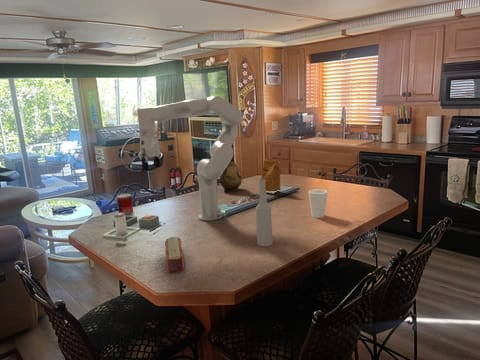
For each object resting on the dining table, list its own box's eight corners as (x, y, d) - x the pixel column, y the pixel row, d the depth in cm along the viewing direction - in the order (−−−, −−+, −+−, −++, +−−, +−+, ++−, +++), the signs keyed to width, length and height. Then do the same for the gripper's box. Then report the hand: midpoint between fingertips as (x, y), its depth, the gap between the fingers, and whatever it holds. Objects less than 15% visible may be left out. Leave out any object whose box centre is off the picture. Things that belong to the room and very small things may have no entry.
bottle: (261, 247, 150) (258, 182, 144) (254, 242, 156) (251, 179, 150) (275, 244, 152) (273, 179, 146) (268, 239, 158) (265, 177, 152)
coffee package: (269, 189, 248) (268, 157, 243) (282, 192, 239) (281, 159, 234) (258, 192, 242) (257, 159, 237) (272, 195, 232) (270, 161, 228)
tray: (140, 232, 176) (139, 228, 175) (124, 241, 165) (124, 236, 164) (120, 230, 180) (119, 226, 179) (103, 239, 169) (103, 234, 168)
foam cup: (329, 214, 189) (329, 189, 186) (325, 219, 180) (325, 194, 178) (311, 212, 193) (310, 188, 190) (306, 217, 184) (306, 193, 182)
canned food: (135, 212, 211) (133, 193, 208) (127, 216, 203) (125, 197, 201) (125, 211, 213) (122, 193, 211) (116, 215, 206) (113, 197, 204)
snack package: (184, 272, 132) (183, 255, 130) (166, 275, 130) (164, 257, 129) (181, 250, 152) (180, 235, 151) (165, 252, 151) (164, 237, 149)
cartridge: (129, 232, 174) (127, 212, 171) (123, 236, 169) (120, 216, 167) (121, 232, 175) (118, 212, 173) (114, 235, 171) (111, 215, 169)
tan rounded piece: (154, 222, 182) (154, 215, 182) (150, 225, 179) (149, 217, 178) (148, 222, 184) (147, 214, 183) (143, 224, 180) (142, 217, 179)
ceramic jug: (242, 192, 244) (240, 148, 238) (219, 193, 244) (217, 149, 238) (242, 186, 260) (240, 145, 254) (221, 187, 261) (218, 146, 255)
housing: (161, 225, 185) (160, 214, 184) (150, 231, 176) (149, 221, 175) (125, 222, 193) (124, 212, 192) (112, 228, 184) (111, 218, 183)
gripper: (143, 134, 163) (147, 171, 167) (164, 131, 179) (167, 165, 183) (130, 135, 166) (134, 171, 169) (151, 131, 182) (155, 165, 185)
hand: (151, 168), depth 176 cm, fingers open, 9 cm apart
